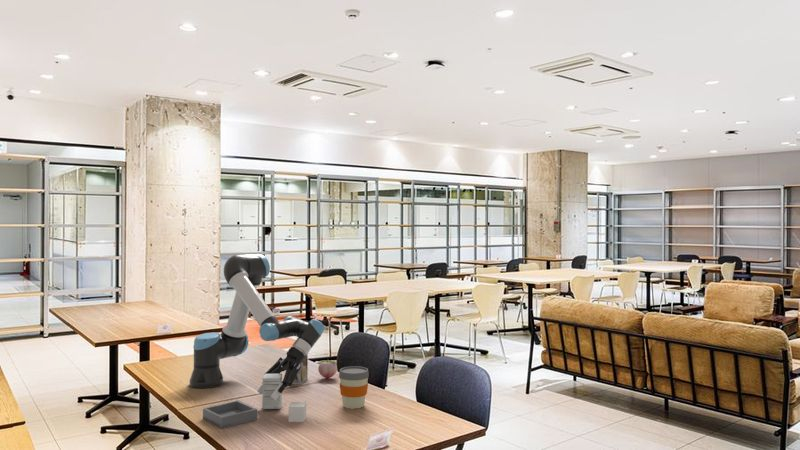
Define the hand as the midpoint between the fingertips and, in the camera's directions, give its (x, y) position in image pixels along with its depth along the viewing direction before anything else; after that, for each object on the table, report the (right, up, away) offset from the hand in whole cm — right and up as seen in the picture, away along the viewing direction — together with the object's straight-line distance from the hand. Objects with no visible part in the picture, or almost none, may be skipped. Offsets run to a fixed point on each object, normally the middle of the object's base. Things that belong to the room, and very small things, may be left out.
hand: (265, 395), depth 234 cm
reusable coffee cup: (+35, -6, +7) cm, 37 cm away
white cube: (+15, -6, -11) cm, 19 cm away
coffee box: (+6, -6, +42) cm, 43 cm away
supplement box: (+2, -5, +2) cm, 6 cm away
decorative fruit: (+19, -6, +49) cm, 53 cm away
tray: (-11, -6, -11) cm, 17 cm away
